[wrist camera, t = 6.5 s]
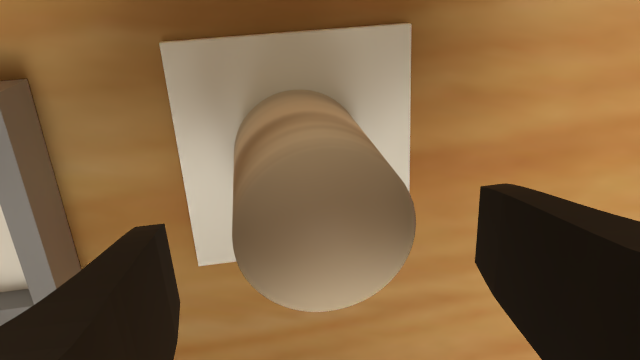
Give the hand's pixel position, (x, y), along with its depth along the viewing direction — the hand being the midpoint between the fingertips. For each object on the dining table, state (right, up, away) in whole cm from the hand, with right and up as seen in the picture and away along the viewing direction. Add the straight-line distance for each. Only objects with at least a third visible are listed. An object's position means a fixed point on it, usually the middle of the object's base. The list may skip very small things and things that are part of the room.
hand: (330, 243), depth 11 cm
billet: (-1, +2, +6) cm, 7 cm away
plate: (-1, +3, +6) cm, 7 cm away
